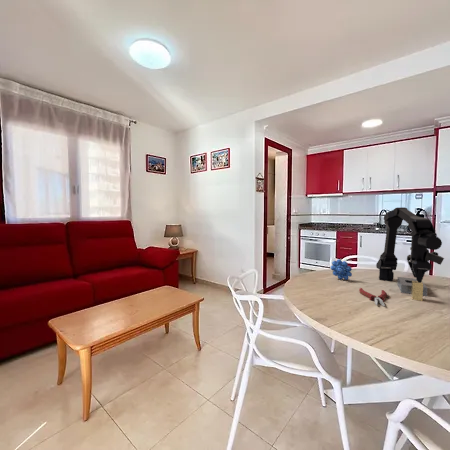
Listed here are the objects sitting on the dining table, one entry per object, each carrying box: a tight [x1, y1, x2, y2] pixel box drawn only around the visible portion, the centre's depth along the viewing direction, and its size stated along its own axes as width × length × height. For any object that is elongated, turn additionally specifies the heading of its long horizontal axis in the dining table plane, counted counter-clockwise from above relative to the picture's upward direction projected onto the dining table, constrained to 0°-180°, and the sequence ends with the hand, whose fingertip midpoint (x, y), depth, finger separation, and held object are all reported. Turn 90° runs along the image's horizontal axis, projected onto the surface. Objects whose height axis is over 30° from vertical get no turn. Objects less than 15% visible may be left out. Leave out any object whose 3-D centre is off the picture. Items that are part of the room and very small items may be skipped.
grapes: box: [330, 258, 353, 281], centre depth 141 cm, size 12×7×12 cm, turn 56°
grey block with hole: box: [396, 276, 428, 297], centre depth 124 cm, size 10×16×4 cm, turn 150°
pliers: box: [358, 287, 388, 307], centre depth 111 cm, size 12×20×3 cm, turn 159°
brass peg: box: [410, 281, 424, 302], centre depth 111 cm, size 4×4×8 cm
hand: (417, 279), depth 111 cm, fingers open, 9 cm apart
